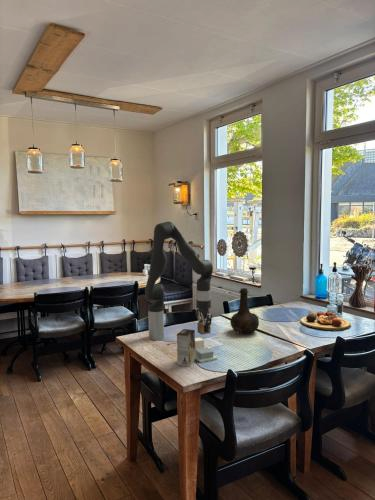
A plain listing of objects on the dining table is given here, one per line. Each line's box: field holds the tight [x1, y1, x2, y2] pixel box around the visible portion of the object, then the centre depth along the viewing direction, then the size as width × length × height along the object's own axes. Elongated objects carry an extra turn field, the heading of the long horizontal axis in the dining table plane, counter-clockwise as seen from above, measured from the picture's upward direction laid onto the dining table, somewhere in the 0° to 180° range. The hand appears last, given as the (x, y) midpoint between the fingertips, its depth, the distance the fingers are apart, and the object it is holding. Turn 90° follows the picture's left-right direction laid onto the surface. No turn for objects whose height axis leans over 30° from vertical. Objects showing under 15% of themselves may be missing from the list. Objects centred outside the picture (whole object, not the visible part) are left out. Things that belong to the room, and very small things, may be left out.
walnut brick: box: [196, 322, 211, 335], centre depth 197 cm, size 5×5×5 cm
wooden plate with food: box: [299, 310, 351, 331], centre depth 255 cm, size 32×32×8 cm
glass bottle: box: [229, 287, 260, 335], centre depth 239 cm, size 18×18×28 cm
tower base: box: [195, 346, 218, 363], centre depth 198 cm, size 10×10×4 cm
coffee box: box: [176, 328, 196, 367], centre depth 192 cm, size 9×6×16 cm
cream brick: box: [195, 337, 205, 349], centre depth 213 cm, size 5×5×5 cm
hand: (203, 330), depth 197 cm, fingers closed on walnut brick, 5 cm apart
